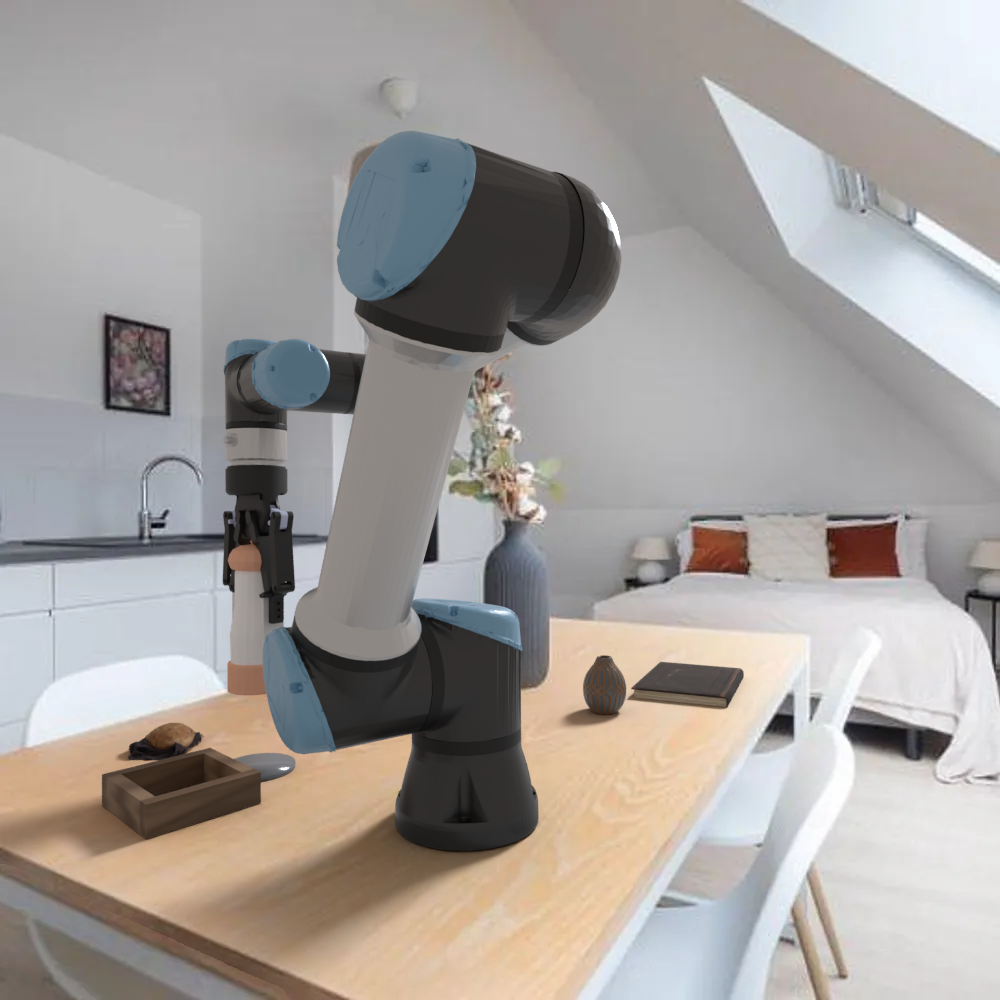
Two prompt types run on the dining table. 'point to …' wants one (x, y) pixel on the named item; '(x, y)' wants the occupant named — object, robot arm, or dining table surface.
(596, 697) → the vase
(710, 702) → the hardcover book
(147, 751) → the brown and black lump
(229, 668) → the pepper shaker
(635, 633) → the dining table surface
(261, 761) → the slate coaster
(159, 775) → the walnut frame
